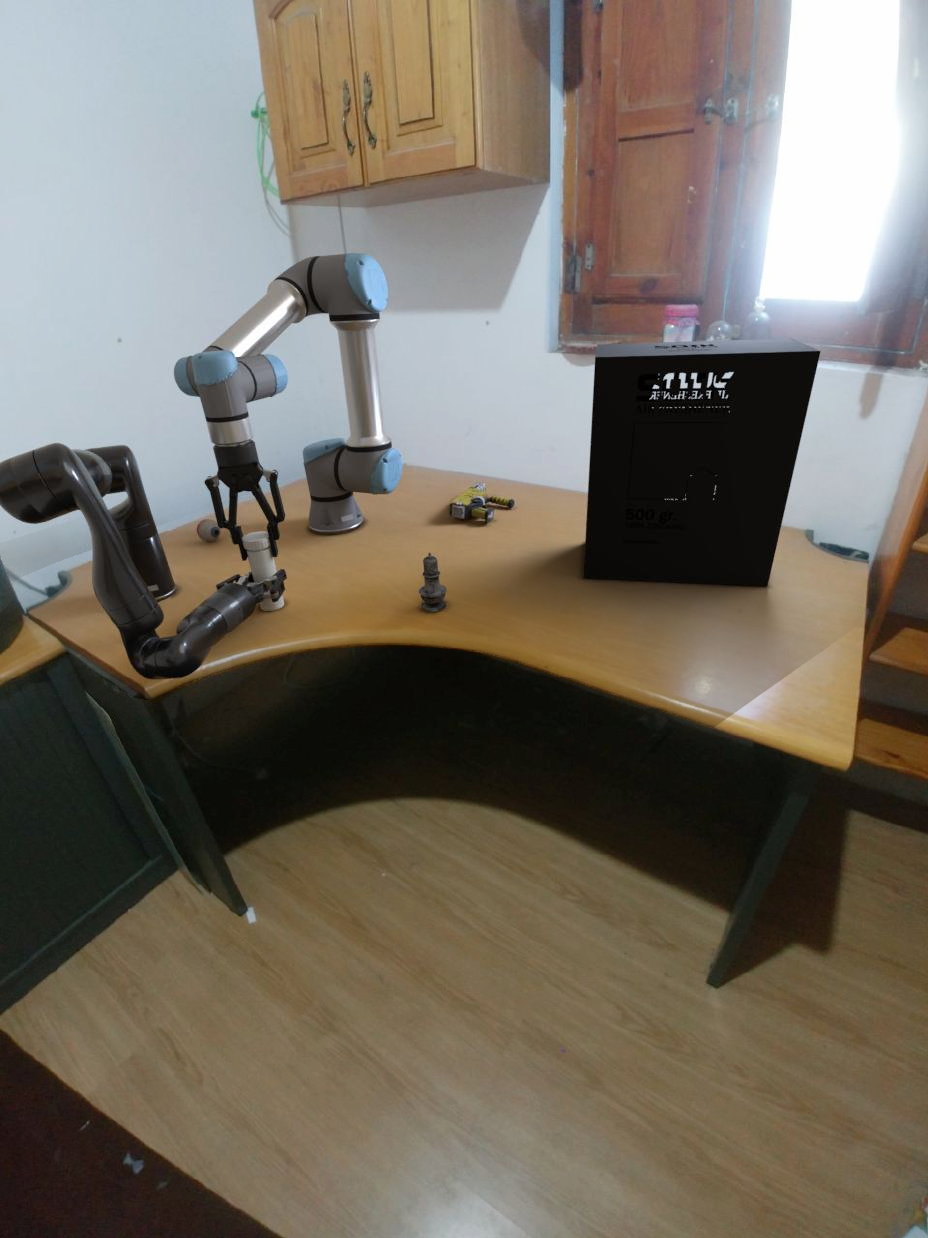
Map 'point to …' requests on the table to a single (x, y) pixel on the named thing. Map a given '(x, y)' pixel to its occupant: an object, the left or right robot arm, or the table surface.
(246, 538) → the lid
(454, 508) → the toy gun
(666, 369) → the cardboard box
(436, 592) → the dark grey chess piece
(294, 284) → the right robot arm
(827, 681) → the table surface
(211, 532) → the eyeball
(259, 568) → the jar
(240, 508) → the table surface
